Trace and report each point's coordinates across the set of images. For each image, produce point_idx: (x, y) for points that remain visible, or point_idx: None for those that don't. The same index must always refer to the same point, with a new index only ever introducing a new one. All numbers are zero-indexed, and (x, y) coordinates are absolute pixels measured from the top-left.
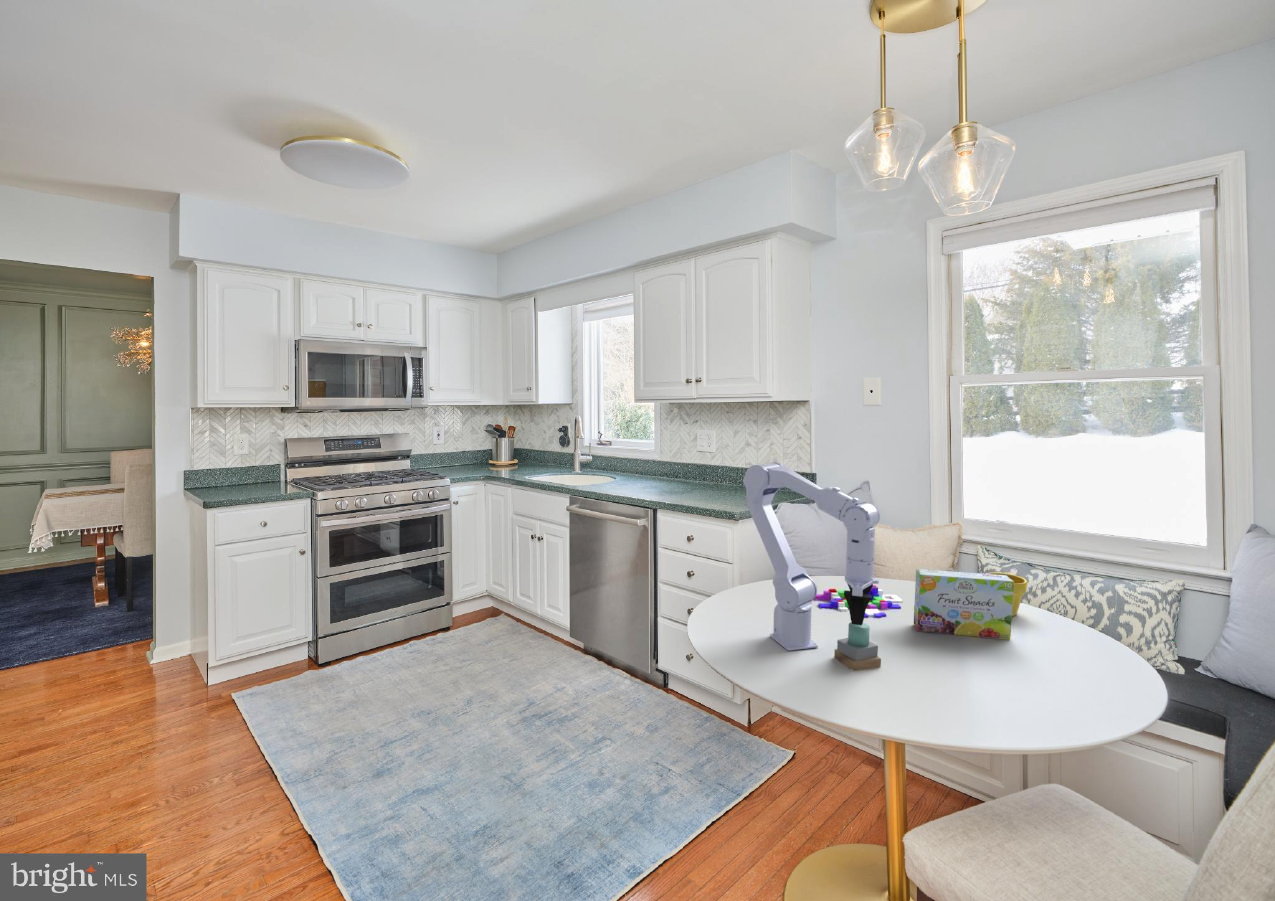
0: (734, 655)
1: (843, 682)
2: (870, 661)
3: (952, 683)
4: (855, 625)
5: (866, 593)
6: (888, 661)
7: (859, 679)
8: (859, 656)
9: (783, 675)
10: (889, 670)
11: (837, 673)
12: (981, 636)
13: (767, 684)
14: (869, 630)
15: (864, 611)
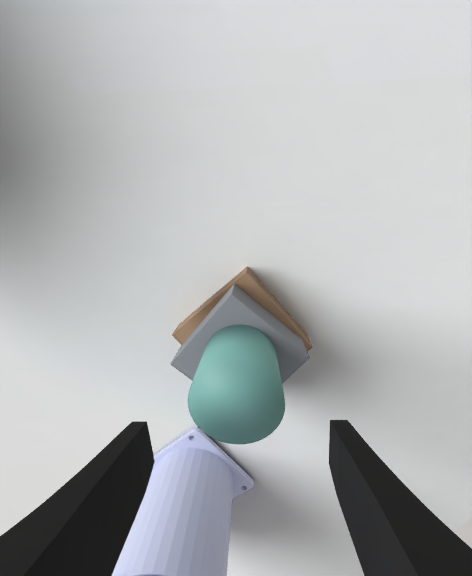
0: (329, 562)
1: (395, 348)
2: (272, 299)
3: (278, 24)
4: (242, 418)
5: (41, 573)
6: (194, 247)
7: (360, 313)
8: (295, 337)
9: (401, 472)
10: (261, 240)
11: (342, 367)
12: None
13: (463, 493)
14: (235, 352)
15: (428, 512)
